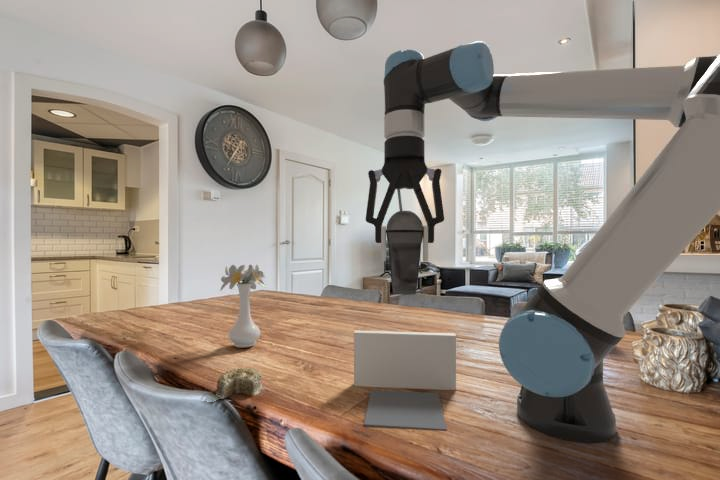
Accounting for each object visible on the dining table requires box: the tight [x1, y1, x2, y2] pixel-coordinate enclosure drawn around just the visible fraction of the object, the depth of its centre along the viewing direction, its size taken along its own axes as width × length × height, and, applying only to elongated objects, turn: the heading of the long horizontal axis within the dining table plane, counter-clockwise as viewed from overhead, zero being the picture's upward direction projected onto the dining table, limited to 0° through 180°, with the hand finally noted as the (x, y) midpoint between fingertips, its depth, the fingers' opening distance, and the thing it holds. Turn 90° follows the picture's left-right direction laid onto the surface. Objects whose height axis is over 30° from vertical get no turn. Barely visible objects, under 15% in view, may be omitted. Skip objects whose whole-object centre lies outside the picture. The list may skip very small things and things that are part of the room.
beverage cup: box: [386, 189, 424, 296], centre depth 68 cm, size 7×7×20 cm
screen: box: [353, 329, 457, 391], centre depth 79 cm, size 22×2×12 cm, turn 83°
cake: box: [214, 367, 265, 402], centre depth 77 cm, size 10×10×5 cm
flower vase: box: [219, 264, 266, 348], centre depth 111 cm, size 13×18×25 cm
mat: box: [363, 389, 448, 431], centre depth 68 cm, size 14×14×1 cm
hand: (404, 260), depth 68 cm, fingers closed on beverage cup, 7 cm apart
